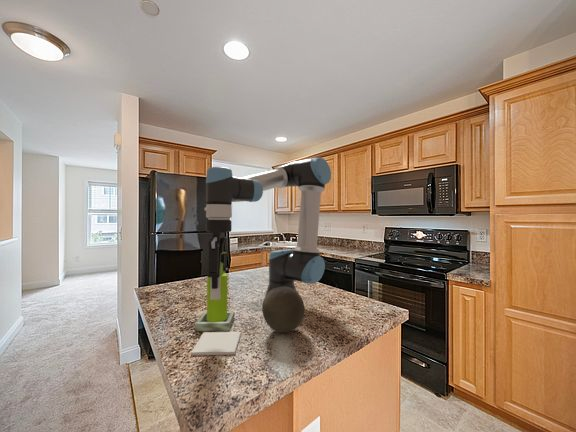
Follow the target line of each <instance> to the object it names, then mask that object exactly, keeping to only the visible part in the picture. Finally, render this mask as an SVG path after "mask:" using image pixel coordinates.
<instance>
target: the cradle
mask: <svg viewBox="0 0 576 432" xmlns="http://www.w3.org/2000/svg"><path fill="white" fill-rule="evenodd" d="M234 320H235V311H227V319H226V320H225V321H221V322H209V321H207V311H203V312H202V314H201V315H200V317H198V320H196V321H195V323H194V331H195V332H230V330H231V327H232V324H233V323H234Z"/></svg>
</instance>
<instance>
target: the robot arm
mask: <svg viewBox="0 0 576 432" xmlns="http://www.w3.org/2000/svg"><path fill="white" fill-rule="evenodd" d="M331 179H332V171H331V168H330V165H329V163H328V161H327V160H326V159H325V158H323V157H311V158H306V159H301V160H296V161H291V162H289V163H286V164H284V165H280V166H276V167H274V169H272V170H269V171H264V172H260V173H256V174H251V175H250V174H249V175H247V176H242V177H237V176H234V175H233V171H232V169H231V168H229V167H226V166H211V167H209V168H208V169H207V170H206V178H205V193H206V194H205V206H206V207H204V208H203V210H204V212H205V217H206V220H205V231H206V232H207V233H211V234H212V235H211V238H210V240H208V273H207V275H206V276H207V277H211V283H210V300H219V299H220V289H221V276H220V263H221V262H222V263H223V273H225V274H226V272H228V271H229V270H228V269H229V267H228V265H227V263H228V262H227V261H228V260H227V258H228V255H227V254H228V251H227V250H228V249H227V245H228V243H227V242H228V238H227V237H226V235H225V234H226V233H231V232H232V220H231V219H232V217H233V212H232V211H233V203H237V202H249V203H256V202H258V201H260V200H261V199H262V197H263V194H264V191H268V190H271V189H275V188H279V189H282V188H287V187H288V188H289V187H297V188H298V190H299V191H301V193H300V206H299V217H298V219H299V220H298V229H297V232H298V233H297V244H296V246H295V247H294V248H289V249H279V250H272V251H270V253H269V257H268V258H269V259H268V285H267V289H266V291H265V294H264V297H265V296H266V295H267V294H268V293H269V292H270V291H271V290H272V289H274V288H277V287H282V286H286V287H290V288H292V289H294V290H296V291H297V288H296V285H295V282H296V281H297V282H300V283H304V284H311V285H313V284H316V283H318V282H319V281H320V280H321V279H322V277H323V275H324V273H325V268H326V263H325V260H324V258H323V257H322V256H321V251H320V249H318V238H319V237H318V236H319V224H320V223H319V221H320V210H321V209H320V208H321V196H322V192H324V191H325V187H326V185H327V184H329V183H330V181H331ZM223 252H227V254H222V253H223ZM207 277H206V278H207Z"/></svg>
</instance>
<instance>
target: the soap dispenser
mask: <svg viewBox="0 0 576 432" xmlns="http://www.w3.org/2000/svg"><path fill="white" fill-rule="evenodd" d="M222 254H228V251H227V252H223V253H222ZM220 276H221V289H220V299H219V300H210V283H211V277H206V312H207V320H206V322H225V321H227V320H226V319H227V312H228V274H227V273H226V272H225V273H223V263H222V262H221V263H220Z"/></svg>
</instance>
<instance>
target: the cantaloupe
mask: <svg viewBox="0 0 576 432" xmlns="http://www.w3.org/2000/svg"><path fill="white" fill-rule="evenodd" d="M261 304H262V305H261V306H262V307H261V308H262V309H261V310H262V315H263V319H264V320H265V324H266V325H268V327H270V329H272V330H273V331H274V332H278V333H280V334H283V333H288V332H292V331H294V330H295V329H297V328H298V327H299V326H300V325H301V323H302V322H303V319H304V316H305V313H306V312H305V308H306V307H305V304H304V300H303V298H302V296H301V294H300V293H299V291H298V290H297V289H296V290H294V289H292V288H290V287H286V286H282V287H277V288H274V289H272V290H271V291H270V292H269V293H268V294H267V295H266V296H265V295H264V298H263V301H262V303H261Z"/></svg>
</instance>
